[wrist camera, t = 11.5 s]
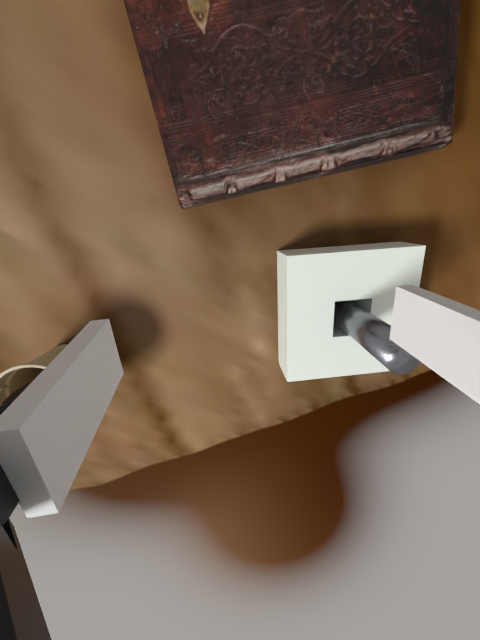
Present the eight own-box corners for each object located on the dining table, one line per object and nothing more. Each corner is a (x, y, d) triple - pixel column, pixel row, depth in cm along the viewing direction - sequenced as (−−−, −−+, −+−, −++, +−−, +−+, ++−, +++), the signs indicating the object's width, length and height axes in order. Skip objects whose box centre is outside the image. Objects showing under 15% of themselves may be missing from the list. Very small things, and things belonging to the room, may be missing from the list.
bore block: (277, 250, 36) (287, 256, 32) (399, 241, 37) (426, 245, 33) (278, 363, 42) (287, 381, 37) (384, 352, 43) (405, 369, 38)
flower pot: (120, 349, 39) (96, 385, 31) (96, 403, 41) (69, 449, 33) (47, 320, 36) (1, 350, 28) (26, 379, 39) (-22, 422, 31)
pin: (326, 297, 38) (388, 342, 25) (351, 295, 38) (425, 338, 25) (325, 321, 39) (383, 376, 26) (349, 319, 39) (419, 372, 26)
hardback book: (184, 208, 34) (180, 208, 29) (128, -1, 27) (111, -44, 23) (421, 153, 34) (454, 144, 30) (424, -66, 28) (468, -122, 23)
